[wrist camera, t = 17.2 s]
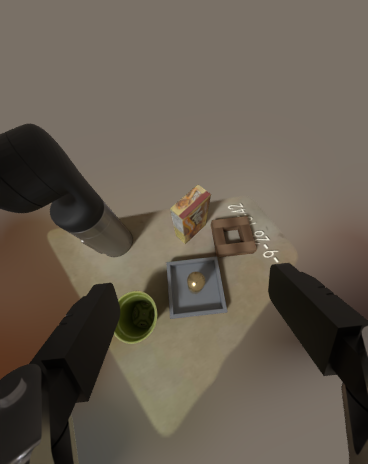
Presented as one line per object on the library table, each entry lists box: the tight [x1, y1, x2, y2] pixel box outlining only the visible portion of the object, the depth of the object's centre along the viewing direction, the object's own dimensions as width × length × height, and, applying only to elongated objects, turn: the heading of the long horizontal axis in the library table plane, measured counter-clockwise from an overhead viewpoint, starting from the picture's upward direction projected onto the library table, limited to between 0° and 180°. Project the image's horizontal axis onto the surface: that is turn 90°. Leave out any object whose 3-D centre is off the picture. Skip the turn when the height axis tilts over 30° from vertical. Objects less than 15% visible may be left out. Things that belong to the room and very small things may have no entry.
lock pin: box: [187, 272, 205, 294], centre depth 37 cm, size 3×3×12 cm
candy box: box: [170, 185, 211, 244], centre depth 43 cm, size 9×4×15 cm, turn 136°
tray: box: [167, 257, 227, 319], centre depth 42 cm, size 13×13×3 cm
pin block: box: [211, 216, 257, 257], centre depth 47 cm, size 10×10×3 cm
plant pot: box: [114, 291, 157, 344], centre depth 38 cm, size 9×9×9 cm
